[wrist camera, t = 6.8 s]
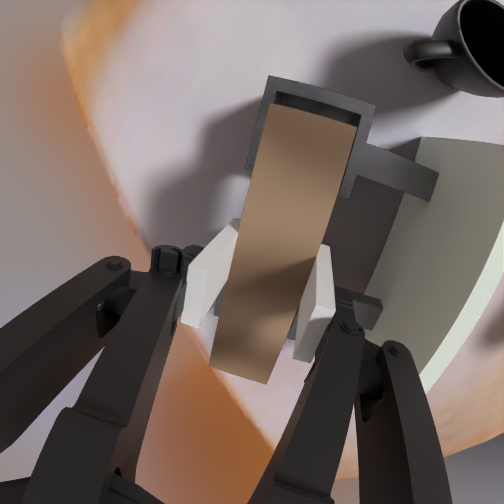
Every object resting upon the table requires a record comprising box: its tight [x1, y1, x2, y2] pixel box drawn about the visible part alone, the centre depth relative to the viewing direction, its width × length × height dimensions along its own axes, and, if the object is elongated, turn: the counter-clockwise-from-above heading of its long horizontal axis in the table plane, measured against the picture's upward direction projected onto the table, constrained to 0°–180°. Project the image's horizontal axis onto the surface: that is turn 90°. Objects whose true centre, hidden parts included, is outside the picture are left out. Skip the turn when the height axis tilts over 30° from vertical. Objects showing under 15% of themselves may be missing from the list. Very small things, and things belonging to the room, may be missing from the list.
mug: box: [403, 0, 504, 98], centre depth 15 cm, size 8×12×10 cm
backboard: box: [364, 137, 504, 394], centre depth 20 cm, size 20×2×16 cm, turn 166°
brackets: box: [214, 75, 439, 340], centre depth 25 cm, size 20×14×7 cm
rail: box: [209, 103, 357, 384], centre depth 17 cm, size 16×4×5 cm, turn 166°
